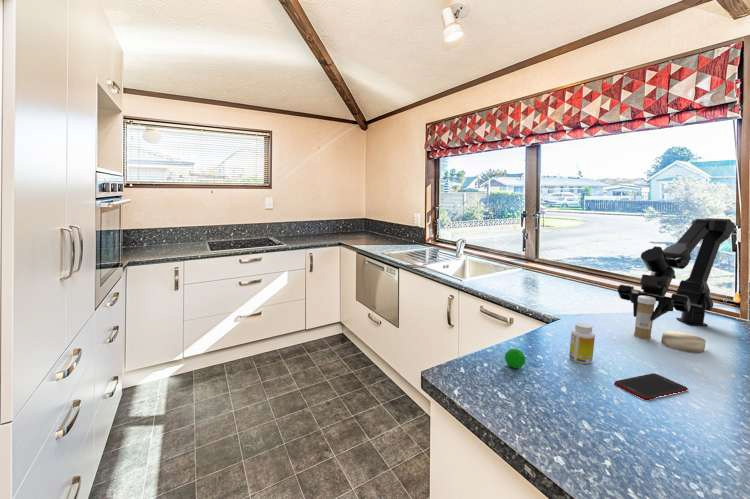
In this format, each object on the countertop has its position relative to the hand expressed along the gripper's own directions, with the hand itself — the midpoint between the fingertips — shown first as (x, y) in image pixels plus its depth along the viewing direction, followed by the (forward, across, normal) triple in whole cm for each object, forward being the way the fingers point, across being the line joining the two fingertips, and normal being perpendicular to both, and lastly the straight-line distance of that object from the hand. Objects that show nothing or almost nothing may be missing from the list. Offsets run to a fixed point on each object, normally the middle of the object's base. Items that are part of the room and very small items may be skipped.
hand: (642, 318), depth 112 cm
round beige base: (+3, +10, +7) cm, 12 cm away
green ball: (+42, -11, -33) cm, 55 cm away
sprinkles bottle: (+4, 0, +6) cm, 7 cm away
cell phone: (+30, +13, -20) cm, 38 cm away
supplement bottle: (+29, -3, -19) cm, 35 cm away
